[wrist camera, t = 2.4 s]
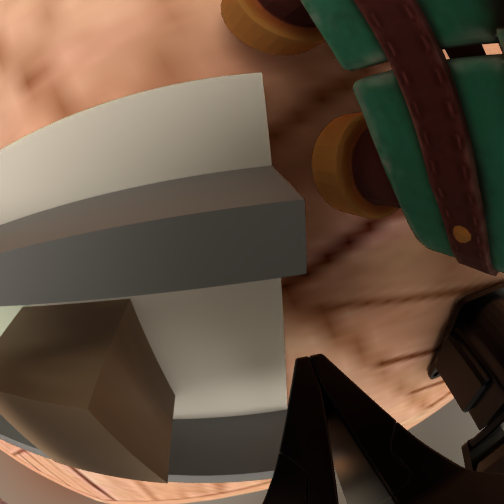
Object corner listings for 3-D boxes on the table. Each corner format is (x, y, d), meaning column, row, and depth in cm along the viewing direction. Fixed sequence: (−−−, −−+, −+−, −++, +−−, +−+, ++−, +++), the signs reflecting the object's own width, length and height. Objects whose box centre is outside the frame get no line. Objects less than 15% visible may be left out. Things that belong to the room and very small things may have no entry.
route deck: (253, 83, 7) (289, 36, 3) (282, 410, 14) (296, 485, 10) (-95, 229, 7) (-133, 261, 2) (-7, 393, 14) (-25, 432, 9)
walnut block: (130, 298, 8) (87, 409, 4) (175, 395, 10) (168, 483, 6) (22, 307, 8) (-29, 381, 4) (78, 392, 10) (55, 461, 6)
